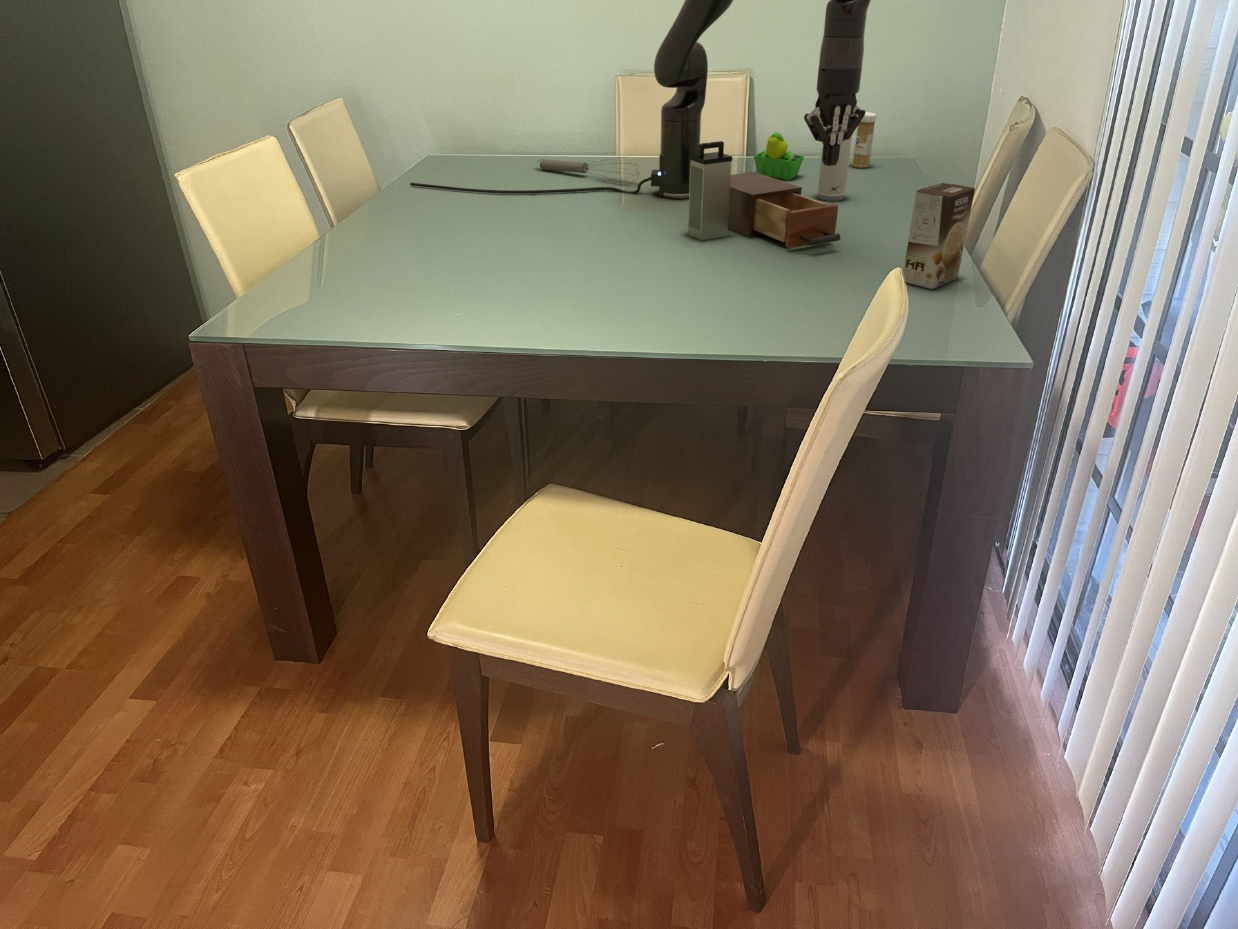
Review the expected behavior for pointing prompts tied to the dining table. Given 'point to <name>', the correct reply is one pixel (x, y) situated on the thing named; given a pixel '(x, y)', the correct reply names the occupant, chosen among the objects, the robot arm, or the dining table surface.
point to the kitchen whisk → (580, 167)
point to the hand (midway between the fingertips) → (829, 164)
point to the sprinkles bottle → (864, 141)
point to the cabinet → (752, 198)
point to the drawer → (795, 219)
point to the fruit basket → (778, 159)
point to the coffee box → (937, 234)
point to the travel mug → (835, 175)
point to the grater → (709, 192)
